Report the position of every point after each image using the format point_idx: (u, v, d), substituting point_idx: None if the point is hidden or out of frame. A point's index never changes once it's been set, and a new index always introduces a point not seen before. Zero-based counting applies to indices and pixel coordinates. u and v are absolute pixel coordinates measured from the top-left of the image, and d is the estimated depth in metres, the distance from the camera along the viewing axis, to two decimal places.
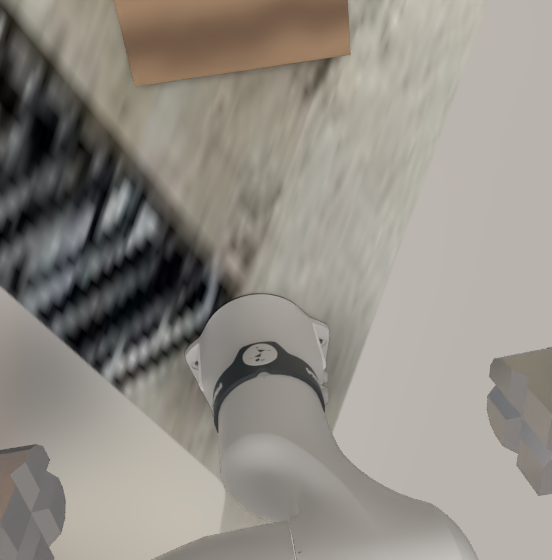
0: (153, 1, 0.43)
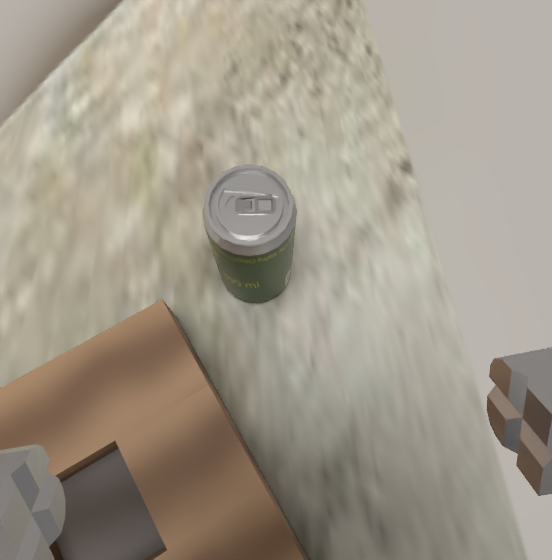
0: None
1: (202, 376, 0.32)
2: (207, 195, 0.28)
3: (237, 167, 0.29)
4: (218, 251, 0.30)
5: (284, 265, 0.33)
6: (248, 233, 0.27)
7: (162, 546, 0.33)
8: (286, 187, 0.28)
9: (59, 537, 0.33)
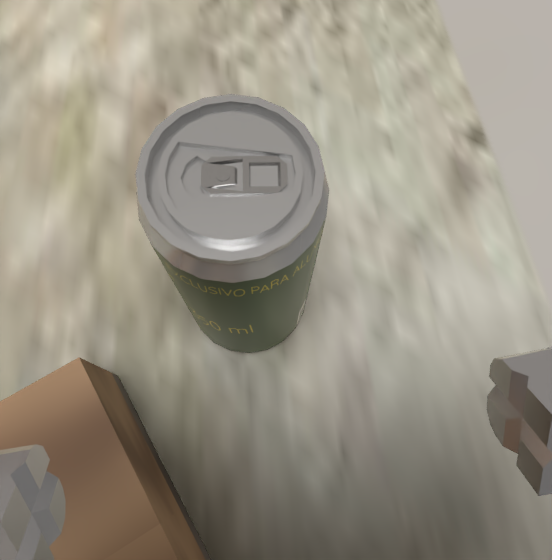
0: None
1: (148, 506, 0.17)
2: (143, 155, 0.13)
3: (207, 100, 0.14)
4: (171, 272, 0.15)
5: (299, 295, 0.18)
6: (228, 235, 0.13)
7: None
8: (309, 139, 0.14)
9: None
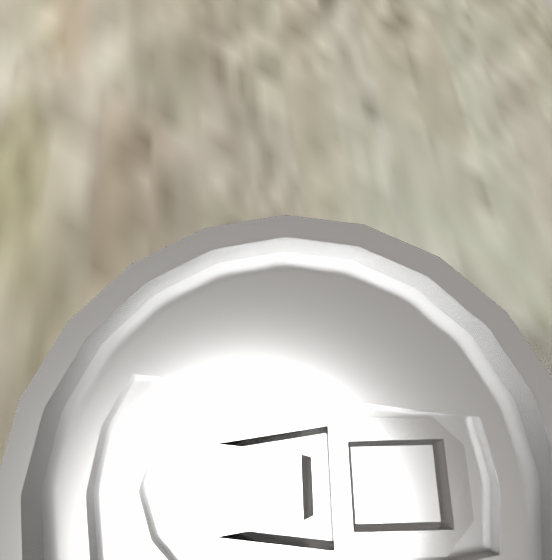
0: None
1: None
2: (20, 427, 0.04)
3: (217, 233, 0.05)
4: None
5: None
6: None
7: None
8: (527, 362, 0.04)
9: None
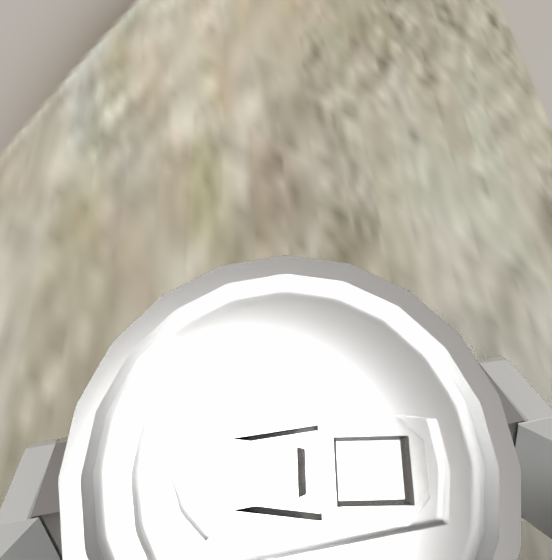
0: None
1: None
2: (78, 425, 0.05)
3: (230, 270, 0.06)
4: None
5: None
6: None
7: None
8: (475, 375, 0.06)
9: None
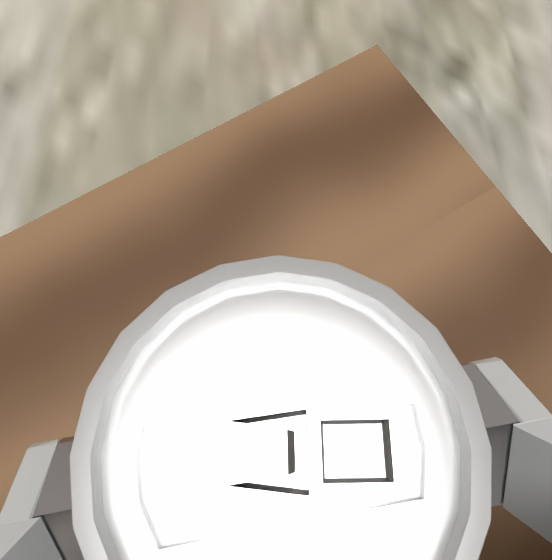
0: None
1: (479, 171, 0.16)
2: (88, 408, 0.06)
3: (228, 269, 0.07)
4: None
5: None
6: None
7: None
8: (450, 364, 0.06)
9: None
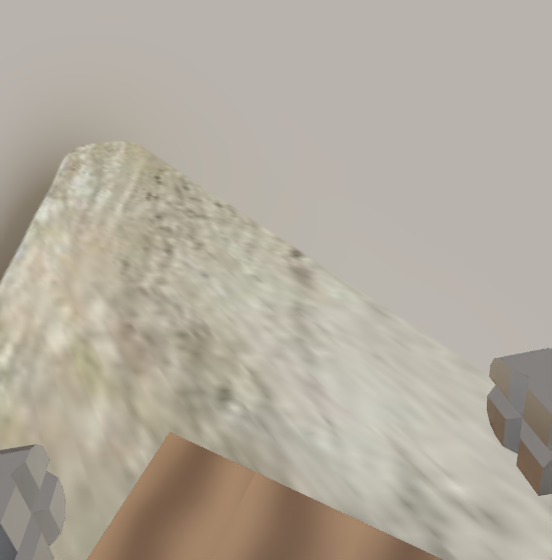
0: None
1: (245, 469, 0.31)
2: None
3: None
4: None
5: None
6: None
7: None
8: None
9: None
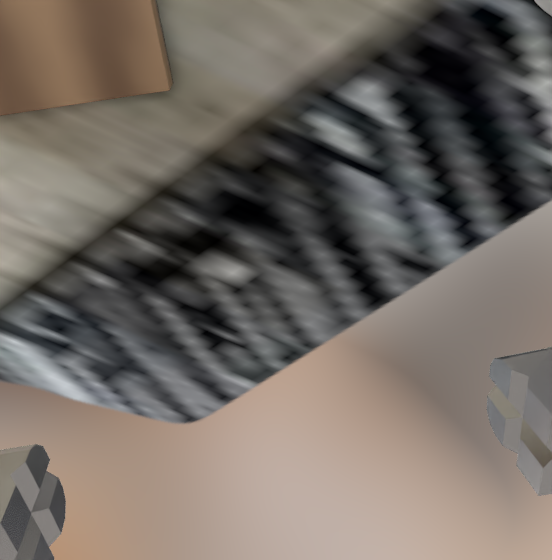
0: (55, 51, 0.31)
1: None
2: None
3: None
4: None
5: None
6: None
7: None
8: None
9: None
